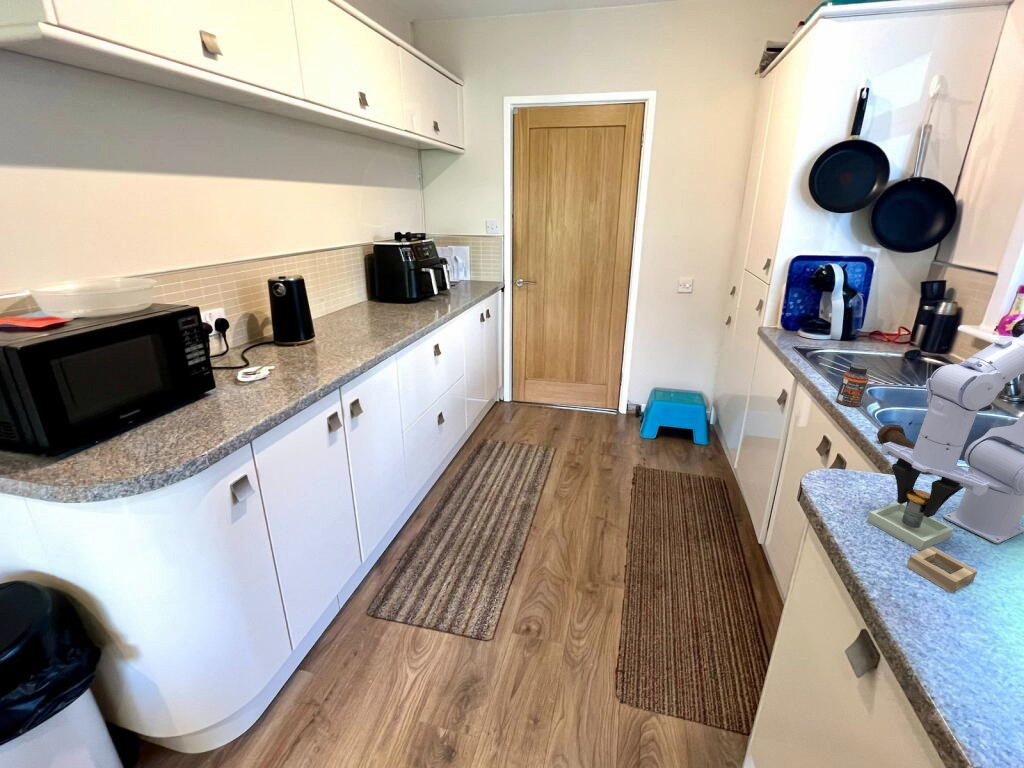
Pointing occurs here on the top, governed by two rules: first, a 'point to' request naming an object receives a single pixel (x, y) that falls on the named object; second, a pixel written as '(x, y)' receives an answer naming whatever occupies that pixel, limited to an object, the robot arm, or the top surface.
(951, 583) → the collar block
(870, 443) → the top surface
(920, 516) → the pin
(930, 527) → the parts tray
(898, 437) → the bolt
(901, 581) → the top surface
